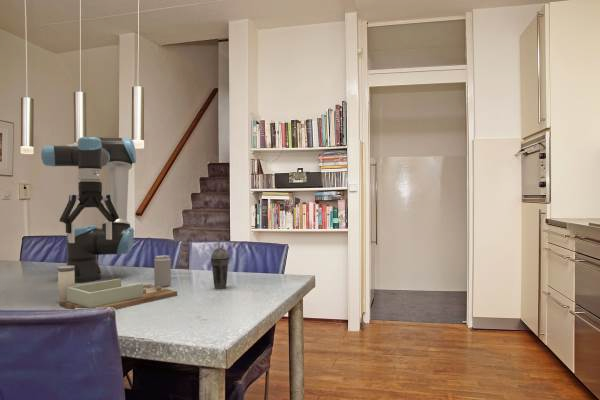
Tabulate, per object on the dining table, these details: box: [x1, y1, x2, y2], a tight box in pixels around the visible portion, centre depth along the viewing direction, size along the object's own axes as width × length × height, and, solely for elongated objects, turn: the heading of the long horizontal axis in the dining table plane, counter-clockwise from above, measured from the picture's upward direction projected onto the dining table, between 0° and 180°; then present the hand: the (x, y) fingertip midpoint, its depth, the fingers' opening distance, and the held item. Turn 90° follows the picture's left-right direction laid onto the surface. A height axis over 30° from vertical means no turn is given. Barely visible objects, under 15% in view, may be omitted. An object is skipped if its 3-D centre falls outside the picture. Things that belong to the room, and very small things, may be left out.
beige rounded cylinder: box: [57, 265, 76, 304], centre depth 148 cm, size 5×5×12 cm
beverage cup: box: [210, 237, 230, 290], centre depth 168 cm, size 7×7×20 cm
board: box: [59, 283, 178, 310], centre depth 149 cm, size 20×32×3 cm, turn 142°
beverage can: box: [153, 254, 172, 288], centre depth 172 cm, size 6×6×12 cm
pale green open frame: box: [67, 278, 144, 308], centre depth 144 cm, size 15×19×4 cm
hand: (90, 241), depth 151 cm, fingers open, 13 cm apart
